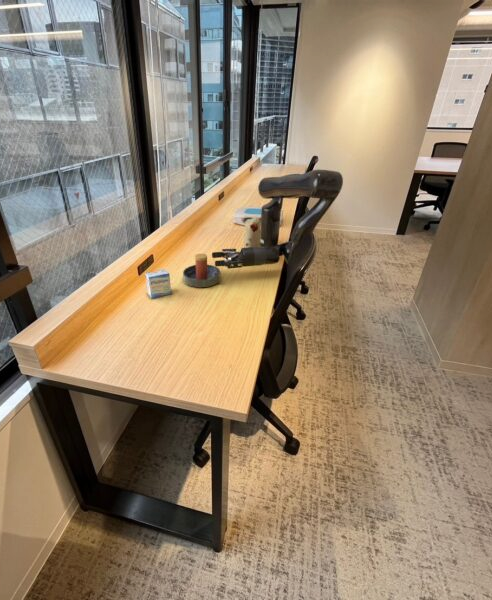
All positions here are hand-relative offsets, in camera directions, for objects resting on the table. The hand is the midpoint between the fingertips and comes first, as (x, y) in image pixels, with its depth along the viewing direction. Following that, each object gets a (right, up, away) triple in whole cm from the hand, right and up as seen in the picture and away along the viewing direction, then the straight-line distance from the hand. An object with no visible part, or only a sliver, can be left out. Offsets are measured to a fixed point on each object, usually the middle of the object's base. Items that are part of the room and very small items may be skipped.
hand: (213, 259), depth 130 cm
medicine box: (-20, -14, -7) cm, 25 cm away
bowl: (-5, -8, +3) cm, 10 cm away
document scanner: (+25, +32, +72) cm, 83 cm away
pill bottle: (-5, -7, +3) cm, 9 cm away
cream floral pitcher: (+16, +1, +19) cm, 25 cm away
